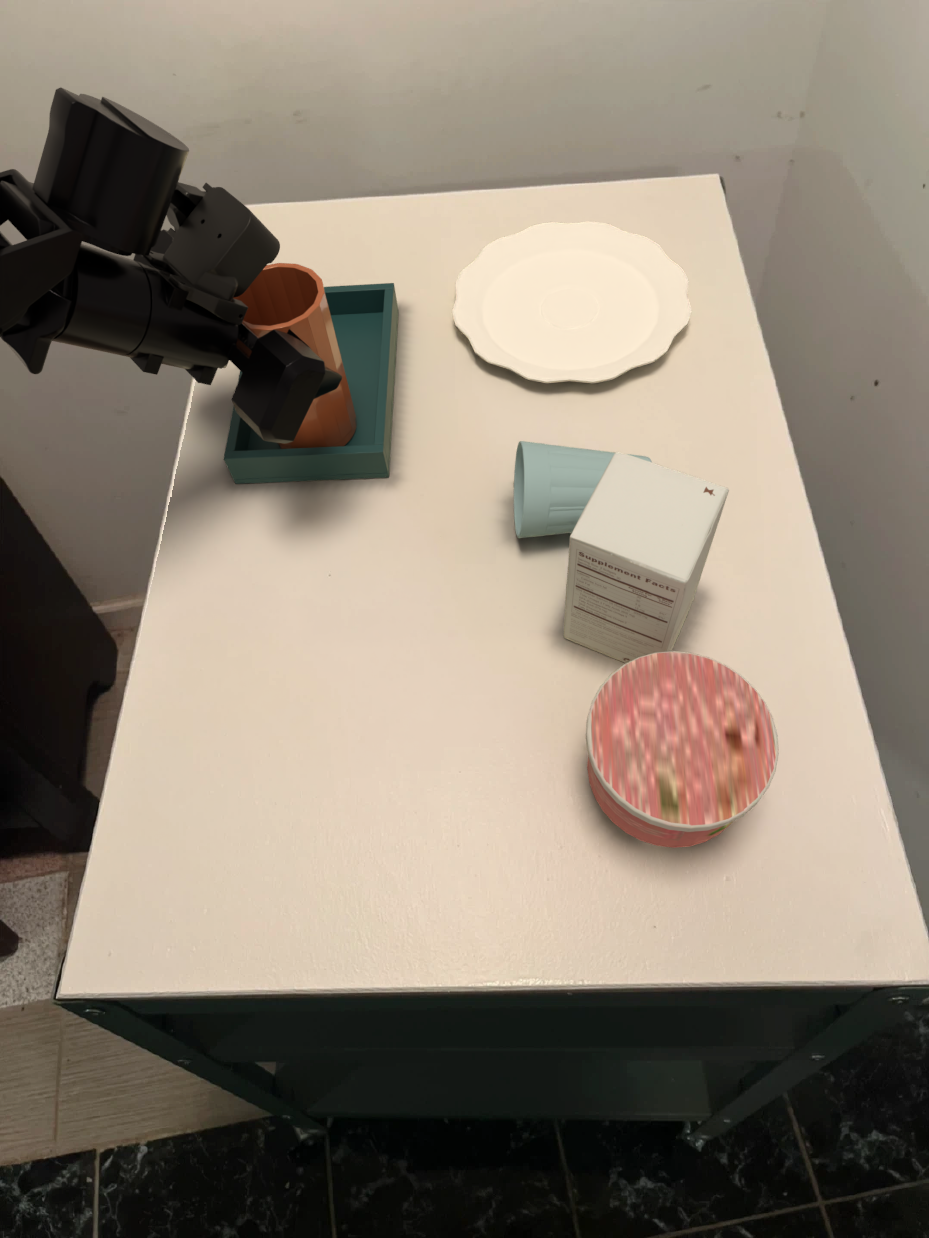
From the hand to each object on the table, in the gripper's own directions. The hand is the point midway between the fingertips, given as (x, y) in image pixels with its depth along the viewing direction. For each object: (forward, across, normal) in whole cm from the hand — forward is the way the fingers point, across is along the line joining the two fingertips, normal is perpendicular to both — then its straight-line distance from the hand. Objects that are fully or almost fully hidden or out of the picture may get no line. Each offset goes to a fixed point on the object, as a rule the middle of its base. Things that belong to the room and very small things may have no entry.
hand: (311, 356), depth 64 cm
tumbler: (+4, 0, +6) cm, 7 cm away
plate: (+22, -4, -12) cm, 25 cm away
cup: (+13, -20, -7) cm, 25 cm away
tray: (+6, +3, +4) cm, 8 cm away
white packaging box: (+9, -30, +2) cm, 31 cm away
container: (+4, -40, +7) cm, 41 cm away
